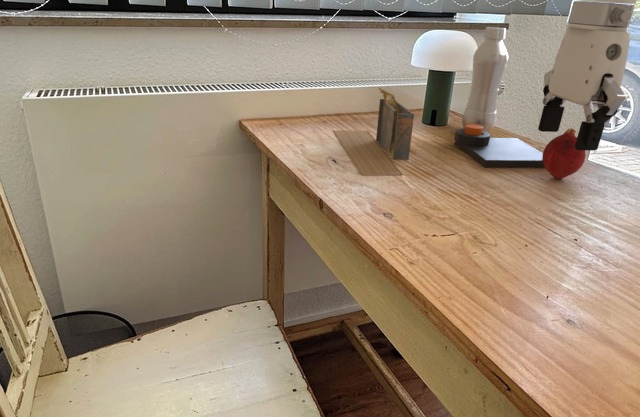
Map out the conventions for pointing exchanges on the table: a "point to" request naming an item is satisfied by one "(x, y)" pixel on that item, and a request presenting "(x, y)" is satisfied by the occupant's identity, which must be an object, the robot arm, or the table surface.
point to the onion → (563, 155)
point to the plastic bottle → (486, 80)
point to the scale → (498, 151)
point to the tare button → (473, 129)
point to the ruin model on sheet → (381, 139)
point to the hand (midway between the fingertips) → (565, 139)
